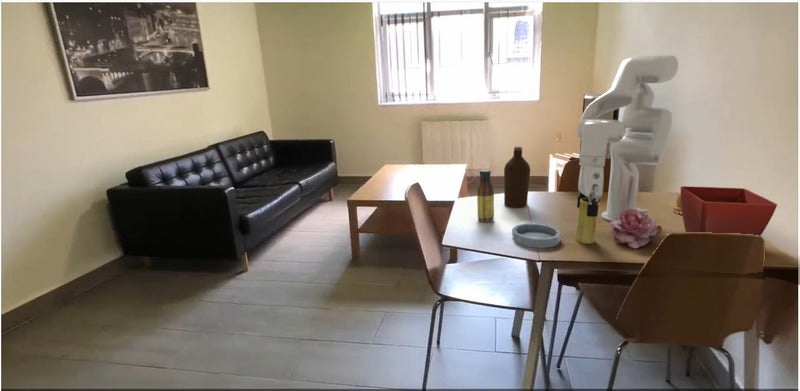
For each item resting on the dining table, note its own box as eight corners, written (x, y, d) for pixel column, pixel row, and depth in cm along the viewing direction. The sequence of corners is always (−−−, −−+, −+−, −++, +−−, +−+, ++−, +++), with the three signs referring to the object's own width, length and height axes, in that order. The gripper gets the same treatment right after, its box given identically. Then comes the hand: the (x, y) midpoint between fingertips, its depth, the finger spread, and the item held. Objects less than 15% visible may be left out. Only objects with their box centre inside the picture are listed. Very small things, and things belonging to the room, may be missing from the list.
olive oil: (528, 209, 181) (532, 149, 174) (502, 208, 184) (504, 149, 177) (527, 201, 191) (530, 145, 184) (503, 200, 193) (505, 145, 187)
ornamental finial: (670, 213, 171) (674, 208, 176) (693, 216, 166) (696, 212, 172) (673, 193, 169) (677, 189, 174) (696, 196, 164) (699, 192, 169)
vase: (596, 244, 143) (600, 202, 139) (577, 243, 144) (580, 202, 140) (592, 237, 149) (596, 197, 145) (573, 236, 150) (577, 197, 146)
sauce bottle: (495, 218, 171) (497, 169, 165) (491, 223, 165) (493, 172, 160) (479, 216, 174) (480, 168, 168) (474, 221, 168) (475, 171, 163)
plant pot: (735, 235, 147) (744, 187, 142) (767, 258, 129) (779, 204, 125) (672, 232, 151) (679, 185, 147) (695, 254, 133) (703, 202, 129)
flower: (599, 224, 153) (609, 200, 148) (642, 229, 152) (654, 206, 147) (611, 251, 141) (622, 227, 135) (658, 257, 140) (671, 233, 134)
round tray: (553, 231, 156) (553, 223, 155) (565, 248, 141) (565, 239, 140) (509, 231, 157) (509, 223, 156) (516, 247, 142) (517, 239, 141)
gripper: (615, 165, 130) (608, 220, 135) (594, 156, 147) (589, 204, 151) (589, 165, 131) (583, 219, 135) (572, 156, 148) (567, 204, 152)
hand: (586, 211), depth 143 cm, fingers open, 9 cm apart
